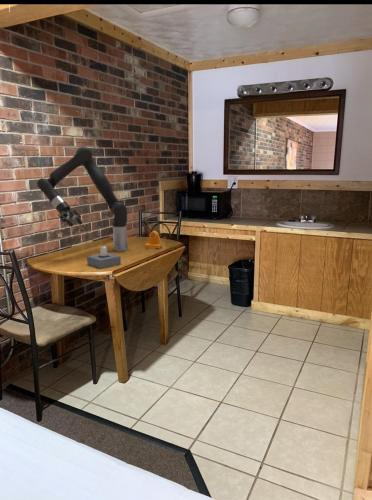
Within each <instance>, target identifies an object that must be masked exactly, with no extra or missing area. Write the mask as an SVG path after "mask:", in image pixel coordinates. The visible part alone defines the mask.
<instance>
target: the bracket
mask: <svg viewBox="0 0 372 500" xmlns="http://www.w3.org/2000/svg"><path fill="white" fill-rule="evenodd" d="M148 235H149V238H148V240H147V243H145V244H144V248H147V249H148V248H149V249H150V250H156V249H160V248H162V247H163V242H162V240H161V237H160V234H159V232H158V231H156V230H152V231H150V232H149V234H148Z"/></svg>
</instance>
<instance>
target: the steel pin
mask: <svg viewBox="0 0 372 500" xmlns="http://www.w3.org/2000/svg"><path fill="white" fill-rule="evenodd" d="M99 248H100V249H99V252H100V253H99V254H100V258H105V257H107V253H108V246H106V245H101V246H100V247H99Z"/></svg>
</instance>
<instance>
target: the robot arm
mask: <svg viewBox="0 0 372 500" xmlns="http://www.w3.org/2000/svg"><path fill="white" fill-rule="evenodd" d="M77 148H78V149H77V150H76V152H75V155H73V156H72V158H70V159H69V160H68V161H67V162H64V163H63V164H61V165H60V166H59V167H57V168H55V169H54V170H53V171H52V172H51V173H50V174H49V178H48V179H46V178H39V179H38V180H37V185H36V186H37V188H38V189H39V190H40V191H41V192H42V193H43V194H44V195H45V197H46V198H47V199H48V200H49V202H50V203H51V205H52V206H53V207H54V209H55V210H56V211H57V212H58V214H57V215H58V216H57V217H59V219H60V220H61V221H62V222H63V223H67V224H68V226H69V227H70V228H72V227H73V226H74V222H72V221H71V220H70V219H72V220H75V221H76V222H77V223H78V224H79V226H80V225H82V224H83V221H82V219H80V218H81V215H80V214H79V212H78V211H77V210H76V209H74V210H72V209H71V205H70V204H68V202H67V201H66V199H64V197H62V196H61V195H60V193H59V192H58V191H57V190H56V189H55V188H56V186H57V185H58V184H59V183H60V182H61V181H62V180H63V179H65V178H66V177H67V176H68V175H70V174H71V173H72V172H73V171H74V170H76V169H77V168H79V167H80V166H83V167H84V169H85V170H86V172H87V174H88V176H89V178H90V179H91V181H92V183H93V184H94V186H95V188H96V189H97V191H98V192H99V193H100V195H101V196H102V198H103V199H104V200H105V202H106V204H107V206H108V208H109V210H110V213H111V214H114V215H113V216H114V218H113V222H112V236H113V238H112V241H113V252H119V253H120V252H121V253H122V252H127V251H128V250H129V237H128V236H127V234H128V233H127V232H128V231H127V223H128V209H127V206H126V205H125V204H124V203H121V202H120V201H119V200H118V198H117V196H116V195H115V193H114V190H113V188H112V184H111V183H110V181H109V179H108V177H107V176H106V175H105V173H104V172H103V171H102V170H101V169H100V167H99V166H98V165H97V164H96V161H95V160H94V159H93V151H92V150H91V149H90V148H89V147H87V146H81V147H77Z"/></svg>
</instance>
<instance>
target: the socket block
mask: <svg viewBox="0 0 372 500" xmlns="http://www.w3.org/2000/svg"><path fill="white" fill-rule="evenodd" d="M121 257H122V256H121V255H116V254H114V253H110V252H107V257H105V258H100V253H98V254H93V255H92V254H91V255H87V256H86V258H87V265H88V266H91V267H95V268H98V269H101V270H102V268H103V269H106V268H111V267H114V266H115V265H116V266H119V264H120V265H122V263H121V261H122V260H121ZM116 266H115V267H116Z"/></svg>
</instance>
